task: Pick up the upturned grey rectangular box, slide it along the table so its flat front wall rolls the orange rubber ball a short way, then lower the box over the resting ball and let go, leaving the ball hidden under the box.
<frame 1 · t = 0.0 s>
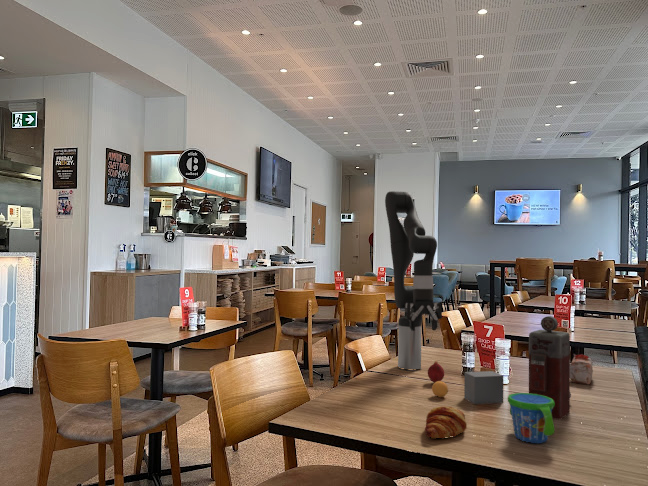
hand: (423, 330, 190), 17 cm above the table, tool pointing down, fingers open, 8 cm apart
croissant: (447, 432, 130), on the table
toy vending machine: (547, 413, 146), on the table
grey rectangular box: (483, 400, 158), on the table
food item: (580, 381, 186), on the table
snack cup: (530, 440, 125), on the table
coffee pot: (552, 398, 162), on the table
onion: (435, 384, 178), on the table
ball: (439, 389, 162), on the table
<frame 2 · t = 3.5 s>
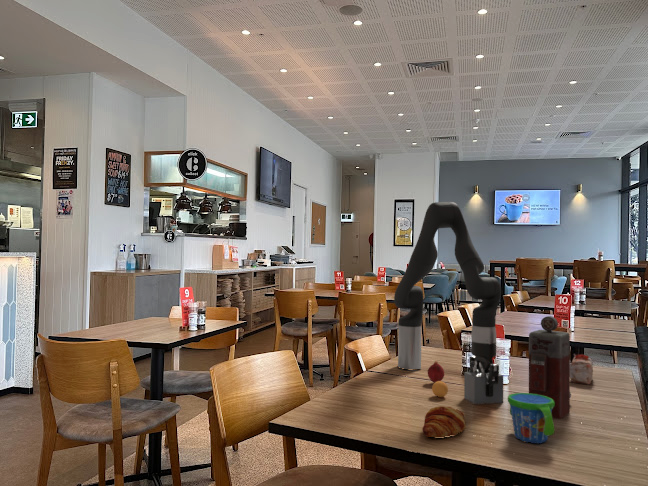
hand: (483, 393, 158), 2 cm above the table, tool pointing down, fingers closed on grey rectangular box, 6 cm apart
grey rectangular box: (483, 400, 158), on the table, touching gripper
everything else where it was.
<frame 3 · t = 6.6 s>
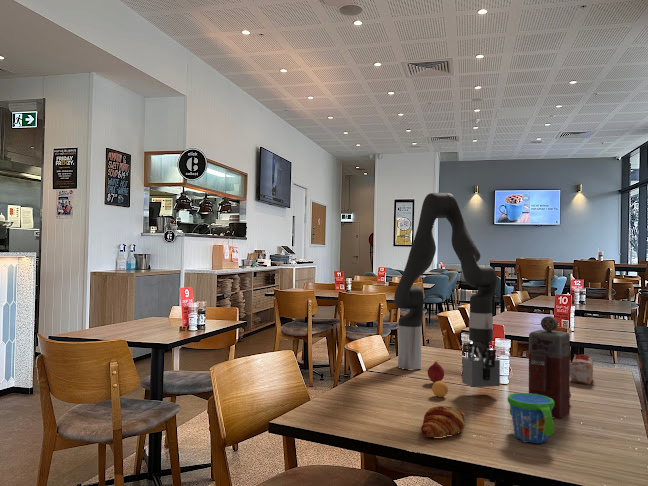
hand: (480, 377, 165), 6 cm above the table, tool pointing down, fingers closed on grey rectangular box, 6 cm apart
grey rectangular box: (480, 384, 164), point 4 cm above the table, touching gripper
everything else where it was.
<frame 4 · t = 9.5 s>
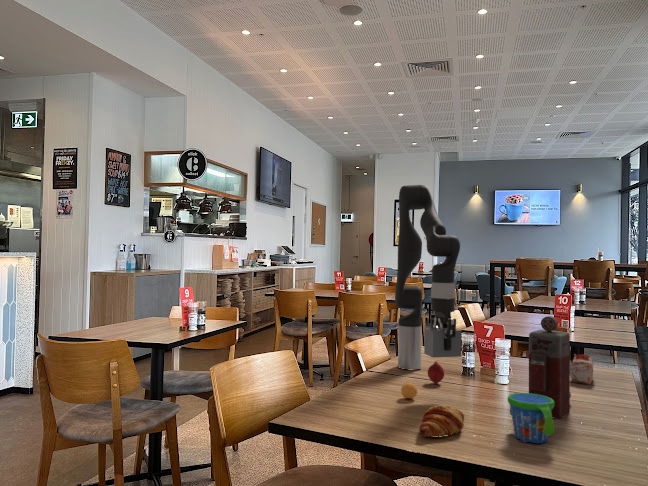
hand: (442, 348, 162), 16 cm above the table, tool pointing down, fingers closed on grey rectangular box, 6 cm apart
grey rectangular box: (442, 355, 162), point 13 cm above the table, touching gripper
ball: (409, 390, 159), on the table
everything else where it was.
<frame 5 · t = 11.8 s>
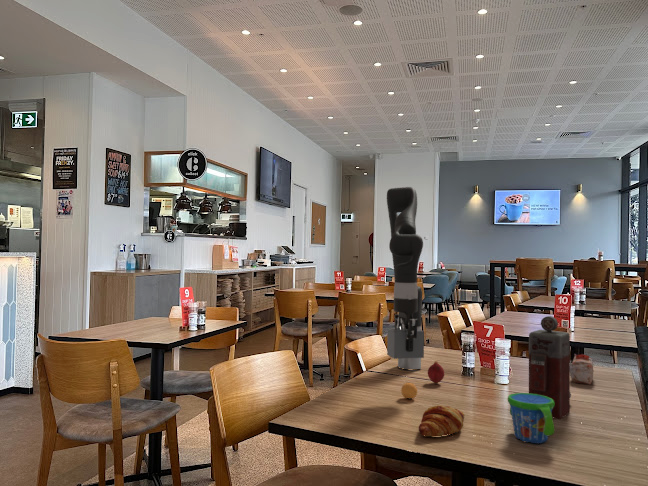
hand: (405, 349, 159), 16 cm above the table, tool pointing down, fingers closed on grey rectangular box, 6 cm apart
grey rectangular box: (405, 356, 159), point 13 cm above the table, touching gripper
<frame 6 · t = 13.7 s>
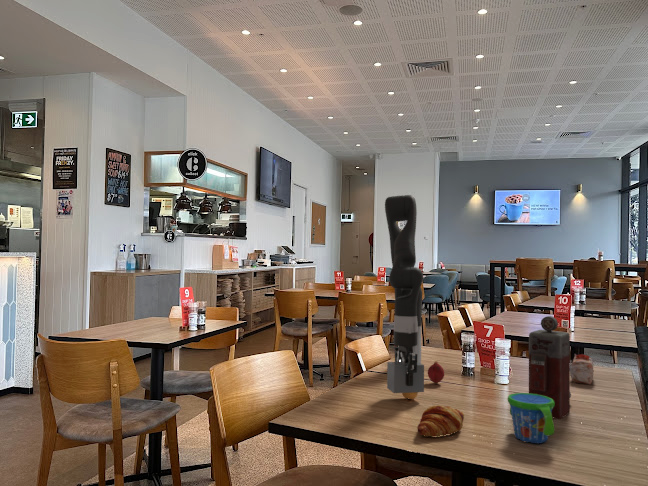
hand: (405, 383, 158), 5 cm above the table, tool pointing down, fingers closed on grey rectangular box, 6 cm apart
grey rectangular box: (405, 390, 158), point 3 cm above the table, touching gripper
when the fingers open (3 cm above the table, at t = 14.8 s): grey rectangular box stays where it is, on the table.
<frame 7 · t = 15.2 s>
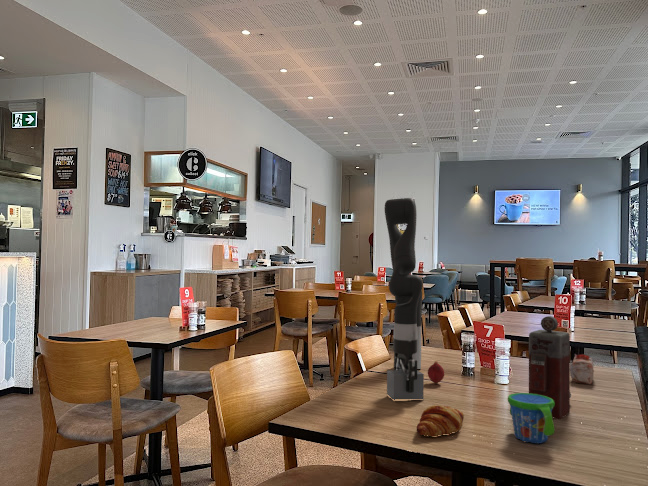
hand: (404, 388, 159), 3 cm above the table, tool pointing down, fingers open, 8 cm apart
grey rectangular box: (404, 398, 159), on the table
ball: (408, 390, 160), on the table
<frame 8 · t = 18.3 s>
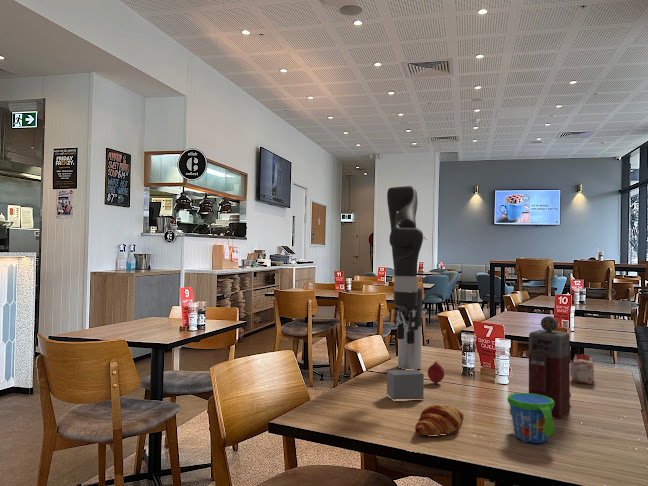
hand: (405, 341, 160), 18 cm above the table, tool pointing down, fingers open, 8 cm apart
at the end: ball 1.2 cm from the grey rectangular box (horizontally); grey rectangular box on the table; ball moved 10.8 cm from its start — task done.
